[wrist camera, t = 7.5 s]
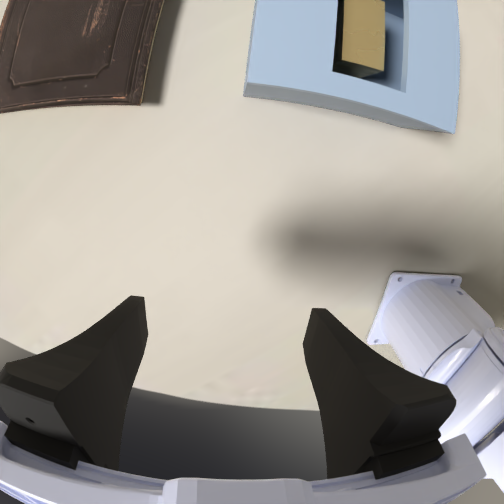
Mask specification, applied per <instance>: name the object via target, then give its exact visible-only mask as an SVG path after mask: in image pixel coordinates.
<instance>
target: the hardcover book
mask: <svg viewBox="0 0 504 504" xmlns="http://www.w3.org/2000/svg"><path fill="white" fill-rule="evenodd" d="M163 4H164V0H9V2H8V5H7V7H6V10H5V13H4V16H3V19H2V22H1V26H0V114H1V113H7V112H14V111H21V110H30V109H39V108H50V107H63V106H83V105H140V104H141V103H142V99H143V93H144V87H145V81H146V76H147V71H148V66H149V61H150V56H151V51H152V47H153V42H154V38H155V34H156V30H157V26H158V22H159V18H160V14H161V11H162V7H163Z"/></svg>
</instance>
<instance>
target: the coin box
mask: <svg viewBox="0 0 504 504" xmlns="http://www.w3.org/2000/svg"><path fill="white" fill-rule="evenodd" d="M381 1H384V2H385V54H384V71H382V72H379V73H375V74H372V75H369V76H365V77H362V78H356V77H352V76H348V75H344V74H340V73H336V72H332V68H333V58H334V47H335V35H336V21H337V6H338V0H255V7H254V14H253V21H252V29H251V36H250V44H249V52H248V60H247V68H246V76H245V85H244V94H243V96H245V97H254V98H263V99H271V100H279V101H286V102H292V103H299V104H304V105H310V106H316V107H321V108H326V109H331V110H336V111H340V112H345V113H349V114H353V115H358V116H362V117H366V118H370V119H373V120H377V121H381V122H384V123H388V124H391V125H395V126H398V127H401V128H412V129H421V130H429V131H437V132H444V133H450V134H455V128H456V119H457V109H458V97H459V78H460V37H459V19H458V7H457V0H381Z"/></svg>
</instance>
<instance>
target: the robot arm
mask: <svg viewBox="0 0 504 504" xmlns="http://www.w3.org/2000/svg"><path fill="white" fill-rule="evenodd" d="M399 277H401V278H400V279H399V280H398V278H399ZM451 280H452V281H451ZM461 282H462V278H461V277H460V276H458V275H438V274H419V273H401V272H394V273H392V274H391V275H390V277H389V280H388V283H387V286H386V289H385V292H384V295H383V298H382V301H381V304H380V306H379V309H378V312H377V314H376V317H375V320H374V322H373V325H372V328H371V330H370V333H369V335H368V338H367V343H368V344H369V345H375V344H390V345H391V346H392V348H393V350H394V351H395V353H396V355H397V356H398V358H399V360H400V361H401V363H402V365H403V366H404V368H405V369H403V368H401V367H399V366H398V365H396V364H394V363H392V362H391V361H389V360H387V359H386V358H384V357H383V356H381V355H380V354H378V353H377V352H375V351H374V350H373V349H371V348H370V347H369V346H367V345H366V344H365V343H364V342H362V341H361V340H360V339H359V338H358V337H356V336H355V335H354V334H353V333H352V332H351V331H350V330H348V329H347V328H346V327H345V326H344V325H343V324H342V323H341V322H340V321H339V320H338V319H337V318H336V317H334V316H333V315H332V314H331V313H330V312H329V311H328V310H327V309H325V308H312V311H311V315H310V319H309V323H308V326H307V330H306V334H305V337H304V341H303V348H304V355H305V361H306V365H307V369H308V372H309V375H310V379H311V382H312V385H313V388H314V392H315V395H316V398H317V401H318V405H319V409H320V415H321V421H322V427H323V434H324V442H325V451H326V462H327V479H326V480H319V481H311V482H307V481H304V480H301V479H265V480H225V479H205V478H177V479H172V480H169V481H168V480H161V479H154V478H149V477H143V476H138V475H133V474H128V473H123V472H119V471H118V468H119V454H120V445H121V436H122V429H123V424H124V417H125V412H126V407H127V402H128V398H129V395H130V391H131V389H132V386H133V383H134V380H135V377H136V374H137V372H138V369H139V366H140V363H141V360H142V358H143V355H144V351H145V347H146V342H147V337H148V329H147V320H146V311H145V301H144V297H140V296H130V297H128V298H127V299H126V300H125V301H123V302H122V303H121V304H120V305H118V306H117V307H116V308H115V309H114V310H112V311H111V312H110V313H109V314H107V315H106V316H105V317H104V318H102V319H101V320H100V321H98V322H97V323H95V324H94V325H93V326H91V327H90V328H89V329H87V330H86V331H84V332H83V333H81V334H79V335H78V336H76V337H74V338H73V339H71V340H69V341H67V342H65V343H63V344H61V345H59V346H57V347H55V348H53V349H51V350H48V351H46V352H43V353H41V354H38V355H35V356H32V357H28V358H25V359H21V360H17V361H13V362H8V363H6V364H5V366H4V367H3V369H2V371H1V372H0V406H1V408H2V409H3V410H4V412H5V413H6V415H7V416H8V417H9V419H10V420H11V422H10V424H9V426H7V425H6V424H4V423H3V422H2V421H0V490H2V491H4V492H5V493H7V494H9V495H11V496H12V497H14V498H16V499H18V500H19V501H21V502H23V503H25V504H447V503H449V502H451V501H453V500H454V499H456V498H457V497H458V496H460V495H461V494H463V493H464V492H466V491H467V490H468V489H470V488H471V487H473V486H474V485H475V484H477V483H478V482H479V481H480V480H482V479H486V478H492V479H494V481H495V482H496V483H497V485H498V486H499V487H500V489H501V490H502V491H503V493H504V421H503V422H502V423H501V424H500V425H499V426H498V427H497V428H496V429H495V430H494V431H493V432H492V433H491V434H490V435H488V437H486V438H485V439H483V440H482V441H480V440H481V439H482V438H484V437H485V436H486V435H487V434H488V433H489V432H490V431H491V430H492V429H493V428H494V427H495V426H496V425H497V424H498V423H499V422H501V421H502V420H503V419H504V330H503V329H501V328H500V327H495V324H494V322H493V320H492V318H491V316H490V315H489V314H488V313H487V312H486V311H485V310H484V309H483V308H482V307H481V306H480V305H479V304H478V303H477V302H476V301H475V300H473V299H472V298H471V297H470V296H469V295H468V294H467V293H466V292H465V291H464V290H463V289H462V288H461V287H460V284H461ZM376 339H377V340H376ZM479 441H480V442H479Z"/></svg>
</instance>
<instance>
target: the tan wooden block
mask: <svg viewBox="0 0 504 504" xmlns="http://www.w3.org/2000/svg"><path fill="white" fill-rule="evenodd" d="M384 54H385V2H384V1H381V0H338V6H337V21H336V35H335V47H334V58H333V68H332V72H336V73H340V74H344V75H348V76H352V77H356V78H362V77H365V76H369V75H372V74H375V73H379V72H382V71H384Z"/></svg>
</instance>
